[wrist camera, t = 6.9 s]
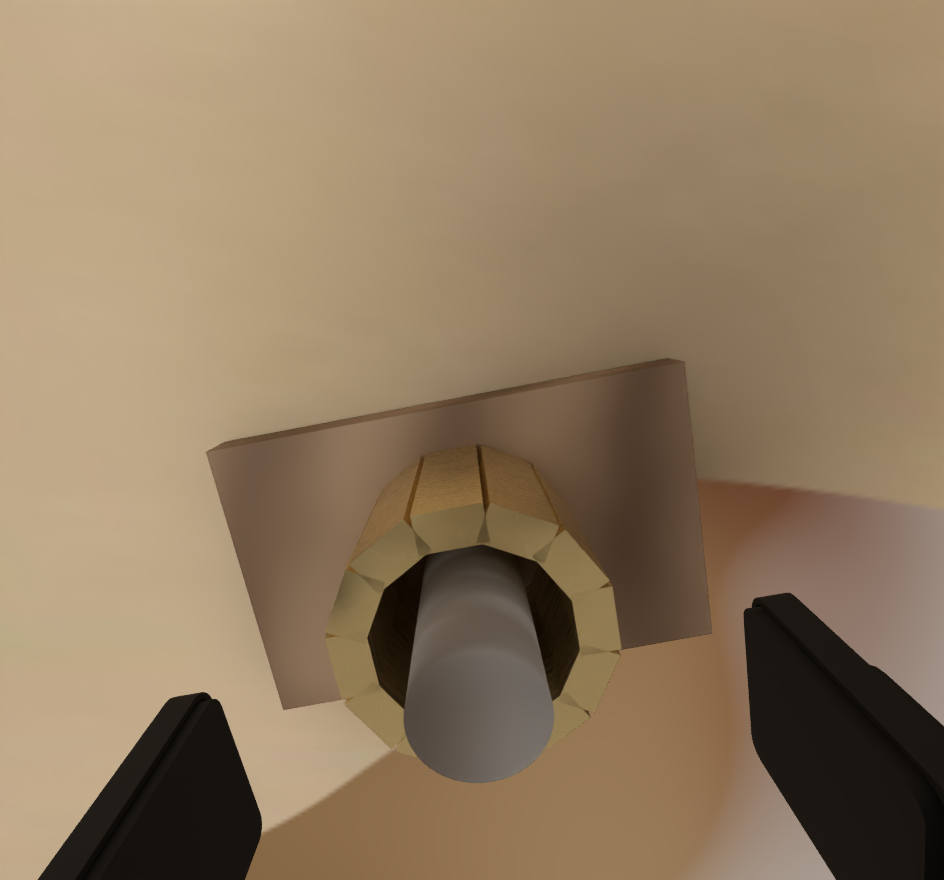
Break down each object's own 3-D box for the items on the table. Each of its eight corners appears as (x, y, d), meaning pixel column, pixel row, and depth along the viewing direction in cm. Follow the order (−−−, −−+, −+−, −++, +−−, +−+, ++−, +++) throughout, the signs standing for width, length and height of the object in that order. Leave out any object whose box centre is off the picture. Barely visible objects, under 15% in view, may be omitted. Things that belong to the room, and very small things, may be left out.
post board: (667, 358, 20) (873, 399, 10) (695, 612, 22) (886, 852, 12) (224, 442, 20) (-3, 562, 10) (295, 683, 22) (164, 974, 12)
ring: (554, 429, 19) (597, 480, 13) (583, 616, 20) (634, 740, 14) (348, 468, 19) (296, 536, 13) (393, 651, 20) (365, 787, 14)
